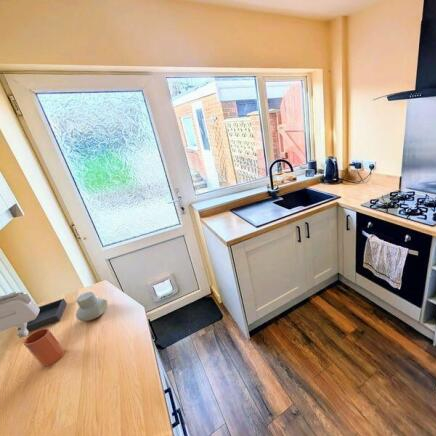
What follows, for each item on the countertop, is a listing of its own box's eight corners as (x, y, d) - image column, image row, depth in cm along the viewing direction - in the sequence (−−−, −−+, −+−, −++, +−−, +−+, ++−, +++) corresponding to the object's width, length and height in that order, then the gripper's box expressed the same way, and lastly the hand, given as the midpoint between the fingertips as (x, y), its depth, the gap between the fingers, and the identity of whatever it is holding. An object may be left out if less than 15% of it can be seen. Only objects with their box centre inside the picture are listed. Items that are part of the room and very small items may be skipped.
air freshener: (100, 321, 100) (89, 303, 96) (77, 326, 99) (65, 308, 95) (111, 303, 110) (101, 285, 106) (91, 307, 109) (80, 290, 105)
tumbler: (38, 370, 83) (20, 348, 78) (44, 355, 88) (27, 334, 83) (62, 360, 86) (45, 338, 81) (66, 346, 91) (51, 325, 86)
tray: (21, 334, 98) (17, 329, 97) (32, 315, 108) (29, 310, 107) (59, 320, 103) (56, 315, 102) (67, 303, 113) (63, 298, 112)
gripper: (28, 283, 69) (53, 319, 75) (-81, 316, 60) (-43, 353, 66) (19, 296, 64) (46, 333, 70) (-101, 334, 55) (-58, 373, 61)
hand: (2, 343), depth 68 cm, fingers open, 8 cm apart
